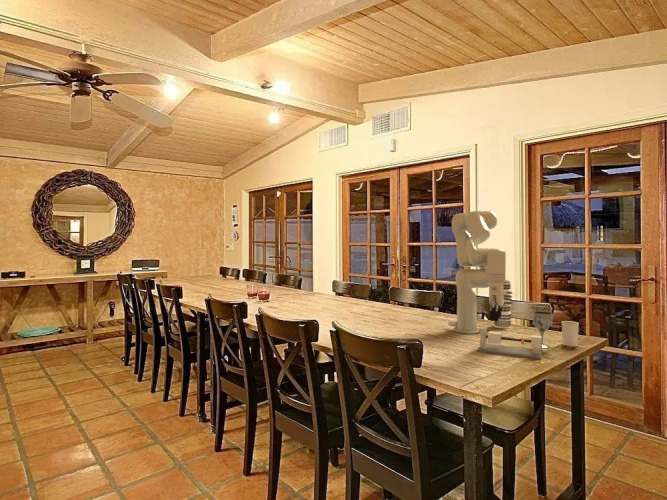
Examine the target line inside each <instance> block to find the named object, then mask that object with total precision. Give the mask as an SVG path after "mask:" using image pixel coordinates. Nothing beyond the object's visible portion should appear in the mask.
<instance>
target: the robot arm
mask: <svg viewBox="0 0 667 500" xmlns="http://www.w3.org/2000/svg"><path fill="white" fill-rule="evenodd" d="M497 223H498V218H497V215H496V214H495V212H493V211H491V210H490V211H489V210H474V211H469V212H461V213H457V214H454V215H453V217H452V218H451V230H452V233H453V235H454V238H455V244H456V245H455V246H456V247H455V248H456V257H457V259H456V260H457V264H458V265H459V266H460V267H463V269H460V270H458V271H457V272H456V274H455V284H456V294H457V295H456V298H457V299H456V305H457V306H456V321H448V326H450V327H453V331H454V332H456V333H460V334H468V335H469V334H470V335H473V334H478V333H480V332H481V329H480V328H478V327H477V315H478V312H477V311H478V309H477V307H478V305H477V303H478V300H477V299H478V298H477V295H476V293H475V291H474V290H473V289H486V288H488V289H489V290H488V302H489V307H490V310H489V321H493V322H495V321H498V317H499V318H500V317H501V306H502V305H503V304H504V290H503V282H505V280H506V267H507V266H506V260H507V259H506V258H507V257H506V256H507V255H506V250H504V249H500V248H487V247H486V248H483V247H480V248H479V247H476V246H478V245H480V244H483V243H485V242H486V241H487V240H488V239H490V236H491V232H490V230H492V229H495V227H496V226H497ZM467 230H468V231H467ZM464 267H467V268H464ZM470 267H471V268H470ZM473 267H474V268H473ZM476 267H478V268H476Z"/></svg>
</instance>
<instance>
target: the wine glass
mask: <svg viewBox="0 0 667 500" xmlns="http://www.w3.org/2000/svg"><path fill="white" fill-rule="evenodd" d="M531 314H532V323H533V326H535V328H536V329H537V330H538V331H539V334H540V335H539V336H541V349H550V348H551V346H550V345H548V344H544V341H543V339H544V335H545V332H546V331H547V330H548V329H549V328H550V327H551V325H552V323H553V322H552V321H553V312H550V311H547V310H546V311H545V310H533V311H532V312H531Z"/></svg>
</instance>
